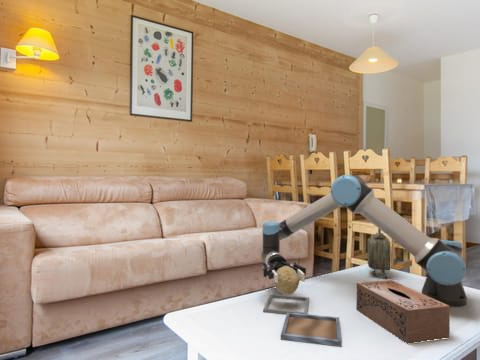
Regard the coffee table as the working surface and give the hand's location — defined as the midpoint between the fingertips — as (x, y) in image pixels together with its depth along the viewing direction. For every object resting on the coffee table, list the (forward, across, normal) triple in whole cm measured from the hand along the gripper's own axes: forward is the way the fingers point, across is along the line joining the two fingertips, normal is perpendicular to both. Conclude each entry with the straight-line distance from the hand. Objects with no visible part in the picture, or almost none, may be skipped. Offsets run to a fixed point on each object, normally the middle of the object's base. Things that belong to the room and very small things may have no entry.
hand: (290, 278), depth 123 cm
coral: (-4, 0, -7) cm, 8 cm away
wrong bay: (-5, 0, -11) cm, 12 cm away
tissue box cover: (+14, -32, -12) cm, 37 cm away
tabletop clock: (-38, -53, -12) cm, 66 cm away
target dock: (+16, -2, -12) cm, 20 cm away
